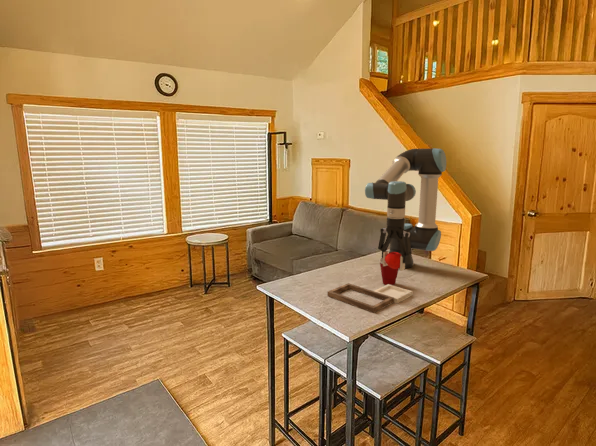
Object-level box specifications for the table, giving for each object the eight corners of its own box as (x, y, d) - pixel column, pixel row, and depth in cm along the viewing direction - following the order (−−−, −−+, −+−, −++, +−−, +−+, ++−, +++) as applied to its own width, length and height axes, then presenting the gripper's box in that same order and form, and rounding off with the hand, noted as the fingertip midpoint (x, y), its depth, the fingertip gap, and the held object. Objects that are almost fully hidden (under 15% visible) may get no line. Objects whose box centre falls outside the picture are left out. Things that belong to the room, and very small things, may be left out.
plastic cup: (389, 289, 176) (390, 265, 174) (373, 282, 185) (374, 259, 182) (405, 284, 182) (406, 261, 179) (388, 278, 191) (389, 255, 188)
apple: (381, 267, 167) (381, 251, 166) (392, 264, 172) (393, 248, 171) (395, 272, 161) (396, 255, 160) (406, 268, 166) (407, 252, 164)
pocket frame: (348, 287, 179) (348, 283, 179) (393, 302, 162) (394, 297, 161) (327, 295, 169) (327, 291, 169) (373, 312, 152) (373, 308, 151)
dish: (388, 288, 178) (388, 284, 177) (412, 295, 169) (412, 291, 168) (372, 295, 169) (372, 291, 169) (397, 303, 160) (397, 298, 160)
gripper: (370, 215, 167) (369, 264, 171) (413, 221, 152) (410, 275, 156) (380, 213, 172) (378, 261, 176) (422, 219, 157) (419, 271, 162)
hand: (393, 267), depth 166 cm, fingers closed on apple, 8 cm apart
